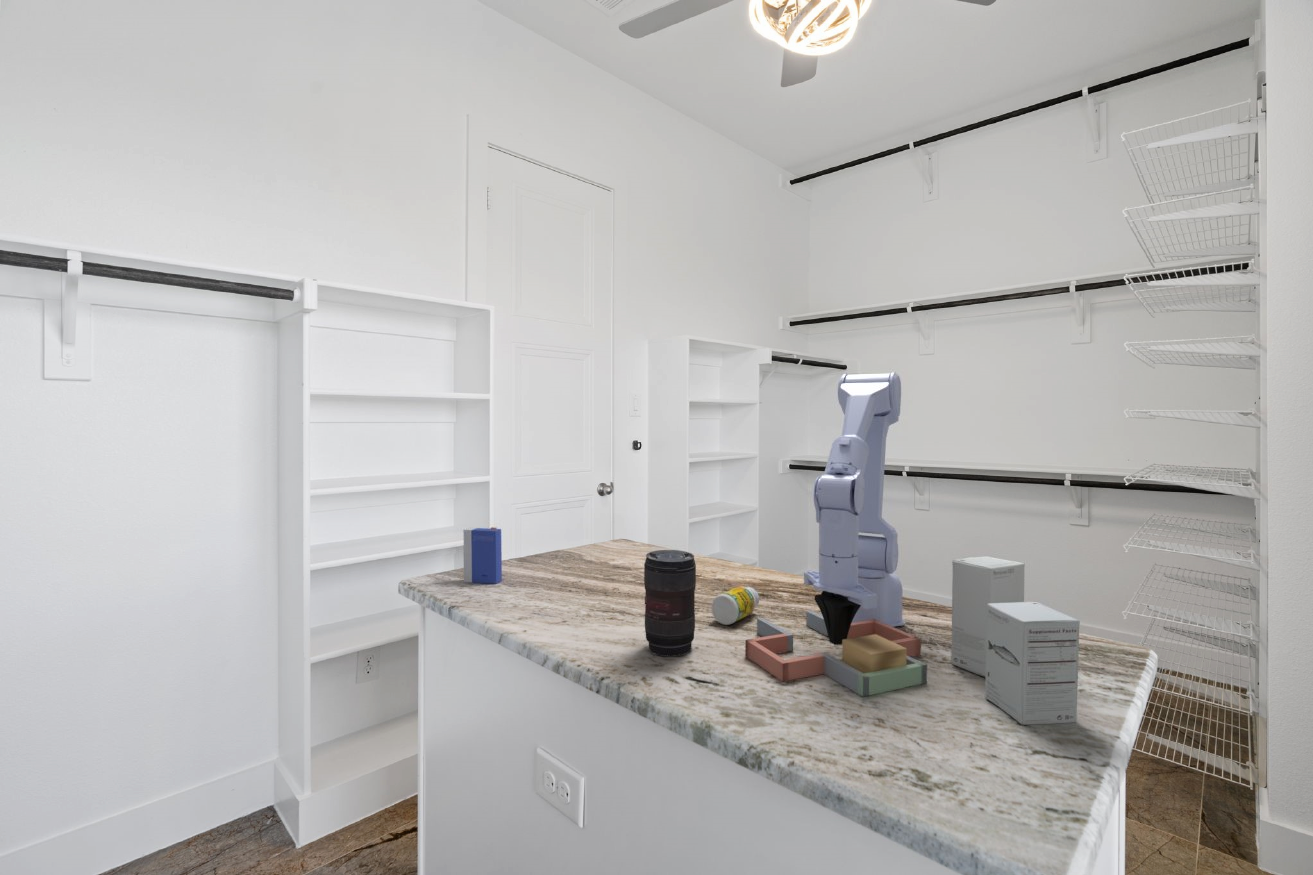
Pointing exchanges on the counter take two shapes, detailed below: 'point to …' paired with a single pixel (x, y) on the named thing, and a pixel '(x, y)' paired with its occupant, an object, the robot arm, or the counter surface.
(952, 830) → the counter surface
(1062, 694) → the supplement box
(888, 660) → the oak block
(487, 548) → the walkman
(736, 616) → the supplement bottle
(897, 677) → the plus maze
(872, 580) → the robot arm
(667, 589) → the camera lens
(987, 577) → the skincare box
